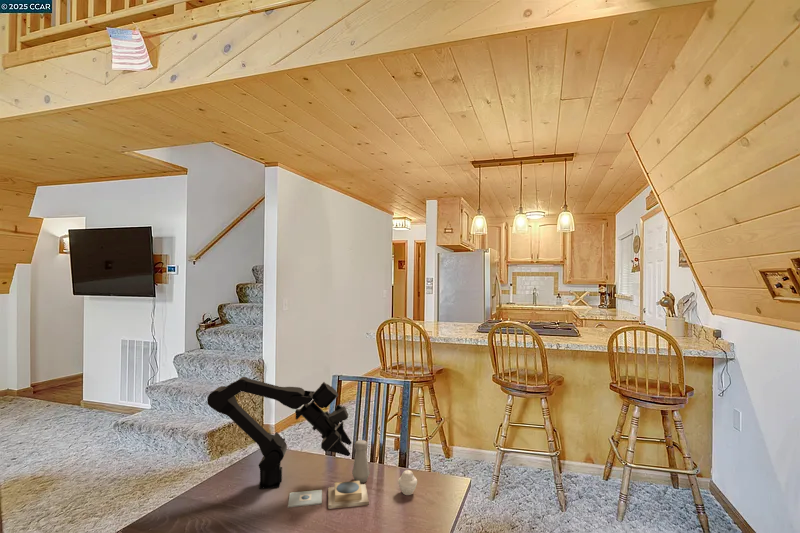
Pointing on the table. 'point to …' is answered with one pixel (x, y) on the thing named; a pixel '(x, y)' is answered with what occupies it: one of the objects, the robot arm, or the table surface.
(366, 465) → the beige mushroom knob
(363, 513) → the table surface
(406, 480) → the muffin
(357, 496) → the foundation
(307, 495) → the pale grey rectangular tile
